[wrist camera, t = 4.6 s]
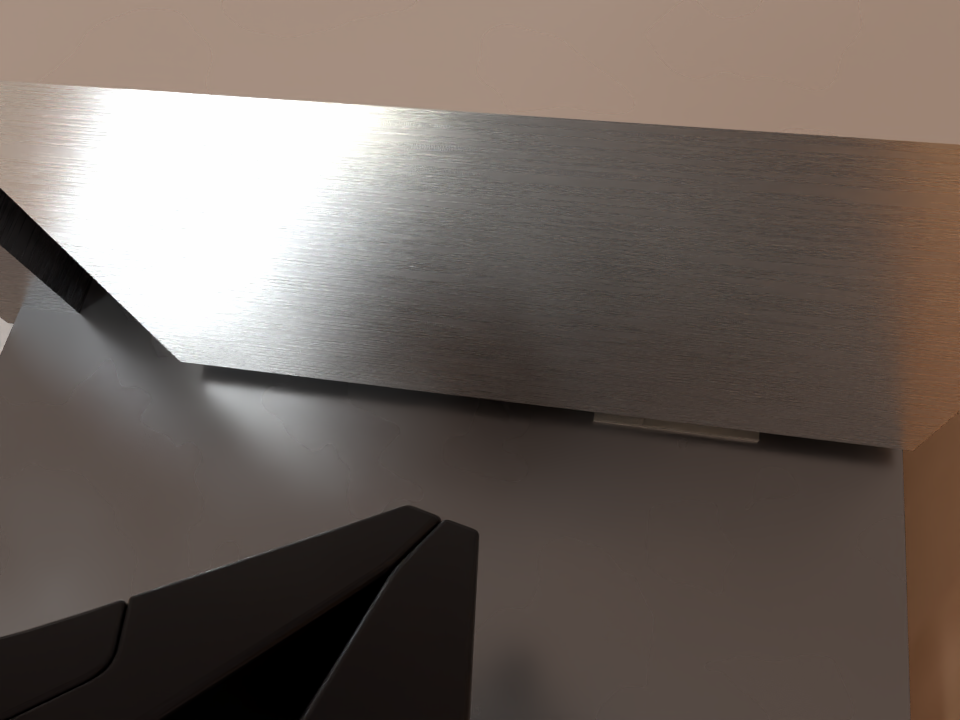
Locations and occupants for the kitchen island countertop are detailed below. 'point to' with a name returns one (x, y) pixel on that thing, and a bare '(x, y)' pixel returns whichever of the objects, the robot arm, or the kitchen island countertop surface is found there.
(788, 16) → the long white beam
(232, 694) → the robot arm
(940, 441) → the kitchen island countertop surface
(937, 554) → the kitchen island countertop surface
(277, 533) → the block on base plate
